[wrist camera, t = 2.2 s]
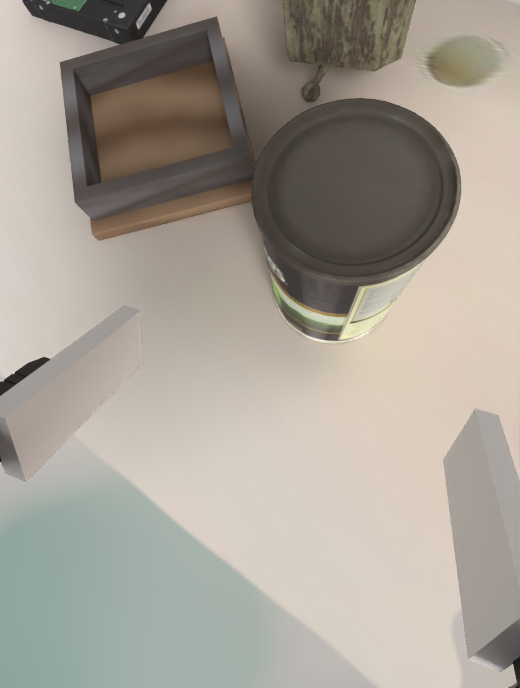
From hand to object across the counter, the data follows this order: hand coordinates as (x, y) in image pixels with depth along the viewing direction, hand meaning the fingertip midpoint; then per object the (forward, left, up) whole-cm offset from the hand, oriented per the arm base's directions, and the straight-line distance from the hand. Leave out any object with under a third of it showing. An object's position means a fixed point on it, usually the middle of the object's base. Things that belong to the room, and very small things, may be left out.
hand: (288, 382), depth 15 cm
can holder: (+28, +7, -16) cm, 33 cm away
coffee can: (+9, -5, -17) cm, 20 cm away
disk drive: (+49, +11, -17) cm, 53 cm away
